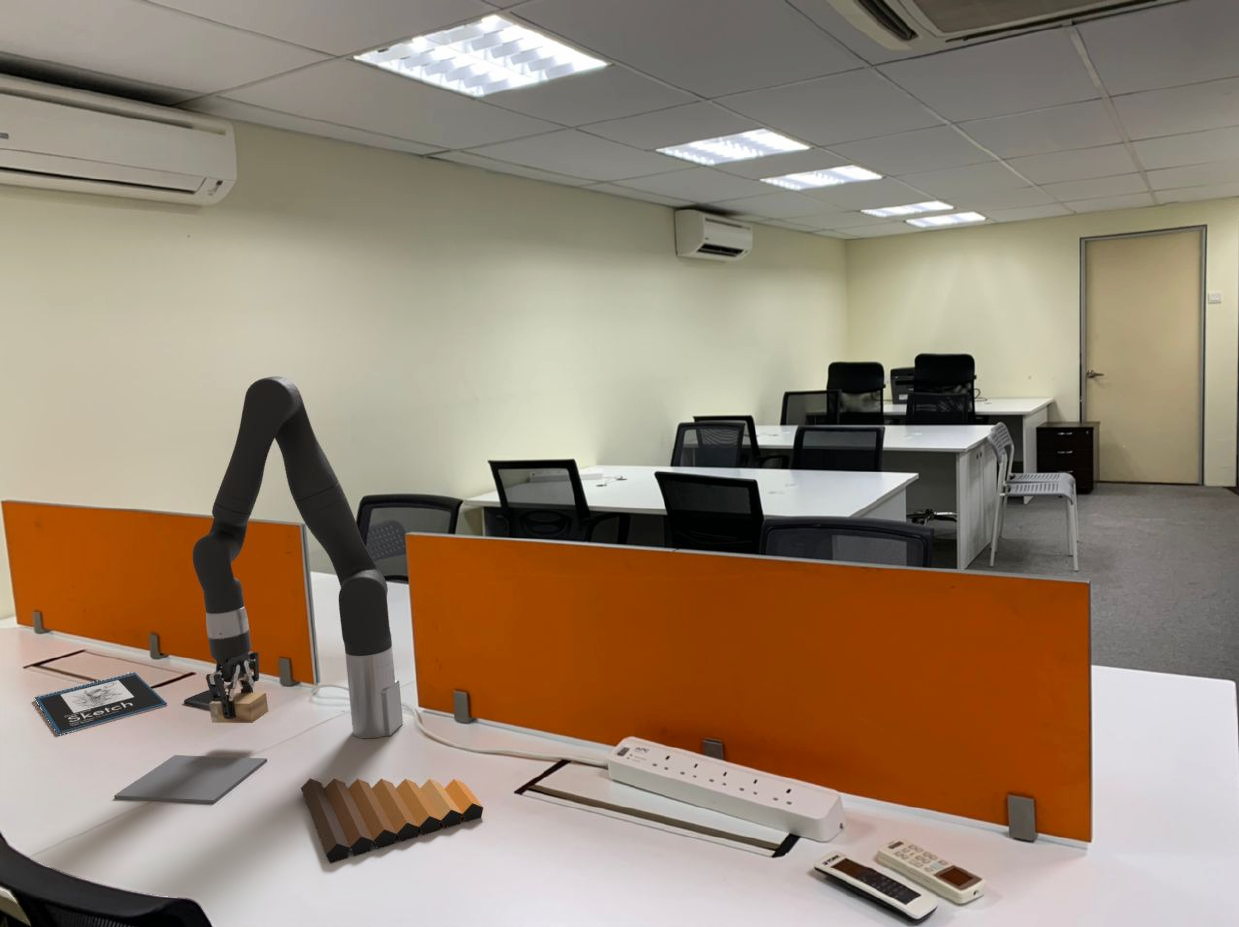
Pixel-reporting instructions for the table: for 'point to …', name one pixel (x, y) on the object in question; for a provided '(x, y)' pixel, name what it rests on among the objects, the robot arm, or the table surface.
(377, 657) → the robot arm
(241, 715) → the block
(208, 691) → the phone
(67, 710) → the sketchbook
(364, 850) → the ridged wooden panel
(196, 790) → the mat
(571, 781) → the table surface
